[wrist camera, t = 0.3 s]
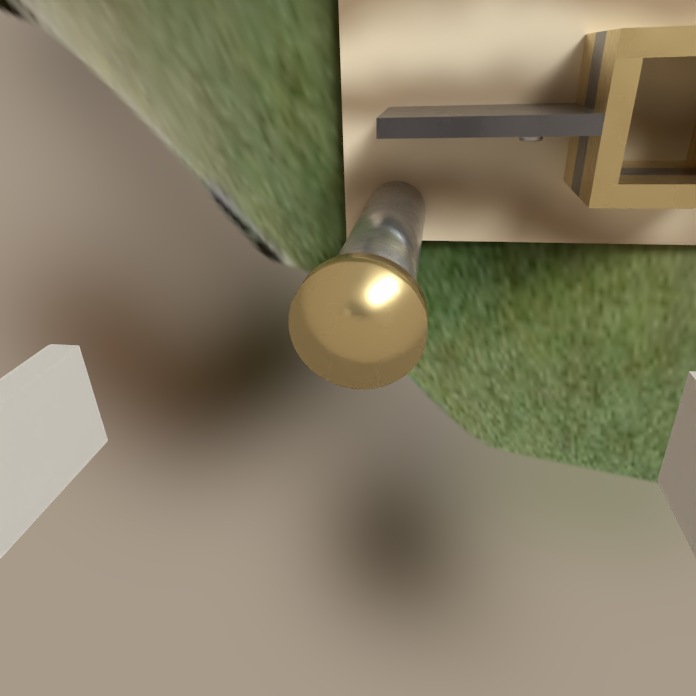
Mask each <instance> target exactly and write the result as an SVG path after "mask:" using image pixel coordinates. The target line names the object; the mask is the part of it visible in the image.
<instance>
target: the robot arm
mask: <svg viewBox="0 0 696 696" xmlns="http://www.w3.org/2000/svg"><path fill="white" fill-rule="evenodd" d="M107 441H108V439H107V436H106V433H105V429H104V426H103V423H102V420H101V416H100V413H99V410H98V407H97V403H96V400H95V397H94V393H93V390H92V387H91V383H90V380H89V377H88V373H87V370H86V367H85V364H84V360H83V357H82V354H81V350H80V347H79V346H78V345H55V344H50V345H48V346H47V347H45V348H44V349H42V350H41V351H39V352H38V353H37V354H35V355H34V356H32V357H31V358H29V359H28V360H26V361H25V362H24V363H22V364H21V365H19V366H18V367H16V368H15V369H14V370H12V371H11V372H9V373H8V374H6V375H5V376H4V377H2V378H1V379H0V559H1V557H2V556H3V555H4V554H5V553H6V552H7V551H8V550H9V549H10V547H11V546H12V545H13V544H14V543H15V542H16V541H17V540H18V539H19V538H20V537H21V535H22V534H23V533H24V532H25V531H26V530H27V529H28V528H29V527H30V526H31V525H32V523H33V522H34V521H35V520H36V519H37V518H38V517H39V516H40V515H41V513H42V512H43V511H44V510H45V509H46V508H47V507H48V506H49V505H50V504H51V502H53V500H54V499H55V498H56V497H57V496H58V495H59V494H60V493H61V492H62V490H63V489H64V488H65V487H66V486H67V485H68V484H69V483H70V482H71V481H72V479H73V478H74V477H75V476H76V475H77V474H78V473H79V472H80V471H81V469H83V467H84V466H85V465H86V464H87V463H88V462H89V461H90V460H91V459H92V458H93V456H94V455H95V454H96V453H97V452H98V451H99V450H100V449H101V448H102V446H104V444H105V443H106V442H107ZM657 482H658V484H659V486H660V488H661V489H662V491H663V493H664V495H665V497H666V499H667V501H668V503H669V505H670V507H671V509H672V511H673V513H674V515H675V517H676V519H677V521H678V523H679V525H680V527H681V529H682V531H683V533H684V535H685V537H686V539H687V541H688V543H689V545H690V547H691V549H692V551H693V553H694V554H695V556H696V372H692V371H689V373H688V376H687V380H686V383H685V387H684V390H683V394H682V397H681V401H680V404H679V408H678V411H677V415H676V418H675V422H674V425H673V428H672V432H671V435H670V439H669V442H668V446H667V449H666V453H665V456H664V460H663V463H662V467H661V470H660V473H659V477H658V480H657Z"/></svg>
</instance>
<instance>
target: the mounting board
mask: <svg viewBox="0 0 696 696" xmlns="http://www.w3.org/2000/svg"><path fill="white" fill-rule="evenodd" d="M338 5H339V34H340V63H341V92H342V121H343V150H344V179H345V208H346V237H347V238H348V237H349V235H350V233H351V231H352V229H353V228H354V226H355V224H356V222H357V220H358V219H359V217H360V215H361V213H362V211H363V210H364V208H365V206H366V204H367V202H368V201H369V199H370V197H371V195H372V194H373V192H374V191H375V190H376V189H377V188H378V187H380V186H381V185H383V184H385V183H388V182H392V181H402V182H406V183H409V184H410V185H412V186H414V187H415V188H416V189H417V190H418V191H419V192H420V193H421V195H422V196H423V198H424V201H425V205H426V217H425V224H424V231H423V238H422V240H424V241H483V242H543V243H602V244H661V245H696V209H633V208H588V207H587V206H586V205H585V204H584V203H583V202H582V201H581V199H580V198H579V197H578V196H577V195H576V194H575V193H574V192H573V191H572V190H571V189H570V188H569V186H568V185H567V184H566V183H565V182H564V181H563V180H564V174H565V167H566V161H567V154H568V148H569V141H570V136H557V137H543V140H542V141H520V140H519V137H481V138H405V139H376V118H377V117H378V116H379V115H380V114H382V113H383V112H384V111H385V110H386V109H387V108H389V107H402V106H447V105H491V104H536V103H575V102H576V95H577V89H578V82H579V76H580V69H581V63H582V56H583V50H584V43H585V37H586V34H589V33H595V32H601V31H607V30H614V29H620V28H640V27H663V26H687V25H696V0H338ZM695 121H696V56H684V57H654V58H643V63H642V68H641V73H640V78H639V83H638V88H637V93H636V98H635V103H634V107H633V112H632V117H631V122H630V127H629V132H628V137H627V142H626V147H625V152H624V157H623V161H651V160H686V157H687V153H688V149H689V145H690V141H691V137H692V133H693V129H694V125H695Z"/></svg>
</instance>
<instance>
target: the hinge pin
mask: <svg viewBox="0 0 696 696" xmlns="http://www.w3.org/2000/svg"><path fill="white" fill-rule="evenodd" d="M425 217H426V205H425V201H424V198H423V196H422V195H421V193H420V192H419V191H418V190H417V189H416V188H415V187H414V186H412V185H410V184H409V183H406V182H402V181H392V182H388V183H385V184H383V185H381V186H380V187H378V188H377V189H376V190H375V191H374V192H373V194H372V195H371V197H370V199H369V201H368V202H367V204H366V206H365V208H364V210H363V211H362V213H361V215H360V217H359V219H358V220H357V222H356V224H355V226H354V228H353V229H352V231H351V233H350V235H349V237H348V238H347V240H346V242H345V244H344V246H343V247H342V249H341V251H340V253H339V255H337V256H334V257H332V258H330V259H328V260H325V261H324V262H322V263H321V264H319V265H318V266H317V267H315V268H314V269H313V270H312V271H311V272H310V273H309V275H308V276H307V277H306V279H305V280H304V282H303V283H302V285H301V286H300V288H299V290H298V291H297V293H296V294H295V296H294V298H293V301H292V303H291V307H290V310H289V318H288V321H289V322H288V323H289V333H290V337H291V340H292V343H293V345H294V348H295V350H296V351H297V353H298V355H299V356H300V358H301V359H302V360H303V361H304V363H305V364H306V365H307V366H308V367H309V368H310V369H311V370H312V371H313V372H315V373H316V374H317V375H319V376H320V377H322V378H324V379H326V380H327V381H329V382H331V383H334V384H336V385H339V386H343V387H347V388H353V389H373V388H378V387H383V386H386V385H388V384H391V383H393V382H395V381H397V380H399V379H400V378H402V377H404V376H405V375H406V374H407V373H408V372H410V371H411V370H412V369H413V367H414V366H415V365H416V364H417V362H418V361H419V359H420V357H421V356H422V353H423V351H424V348H425V345H426V340H427V331H428V308H427V302H426V299H425V296H424V294H423V292H422V290H421V288H420V286H419V285H418V283H417V282H416V280H417V273H418V266H419V259H420V252H421V245H422V238H423V231H424V224H425Z"/></svg>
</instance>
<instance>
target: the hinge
mask: <svg viewBox="0 0 696 696" xmlns="http://www.w3.org/2000/svg"><path fill="white" fill-rule="evenodd" d="M684 56H696V25H687V26H663V27H640V28H620V29H614V30H607V31H601V32H595V33H589V34H586V37H585V43H584V50H583V56H582V63H581V69H580V76H579V82H578V89H577V95H576V102H575V103H536V104H491V105H447V106H402V107H389V108H387V109H386V110H385V111H384V112H383V113H382V114H380V115H379V116H378V117H377V118H376V139H405V138H481V137H519V140H520V141H542V140H543V137H557V136H570V141H569V148H568V154H567V161H566V167H565V174H564V180H563V181H564V182H565V183H566V184H567V185H568V186H569V188H570V189H571V190H572V191H573V192H574V193H575V194H576V195H577V196H578V197H579V198H580V199H581V201H582V202H583V203H584V204H585V205H586V206H587V207H588V208H633V209H696V121H695V125H694V129H693V133H692V137H691V141H690V145H689V149H688V153H687V157H686V160H651V161H623V157H624V152H625V147H626V142H627V137H628V132H629V127H630V122H631V117H632V112H633V107H634V103H635V98H636V93H637V88H638V83H639V78H640V73H641V68H642V63H643V58H654V57H684Z"/></svg>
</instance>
